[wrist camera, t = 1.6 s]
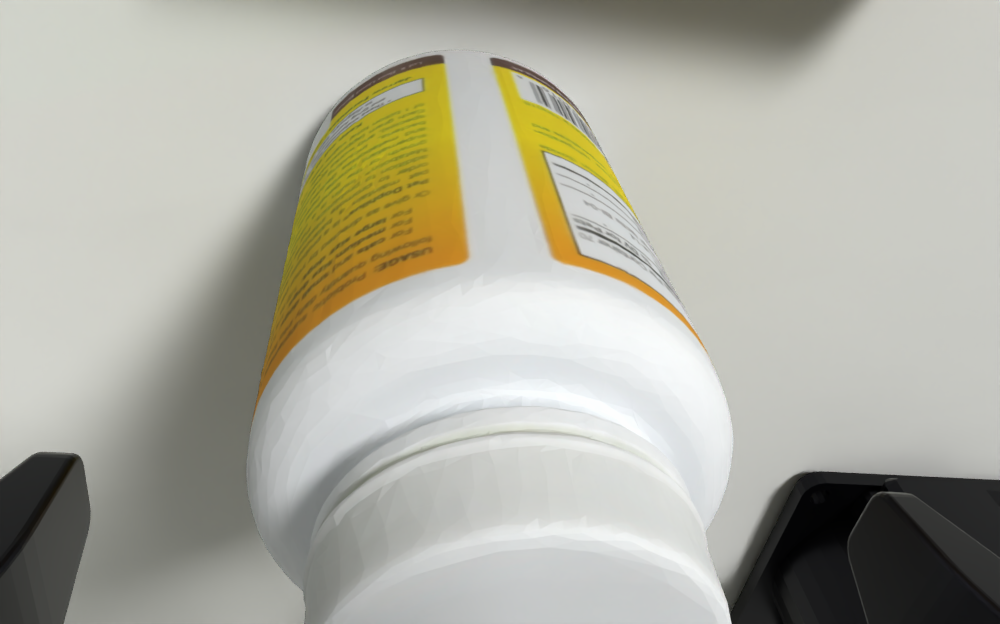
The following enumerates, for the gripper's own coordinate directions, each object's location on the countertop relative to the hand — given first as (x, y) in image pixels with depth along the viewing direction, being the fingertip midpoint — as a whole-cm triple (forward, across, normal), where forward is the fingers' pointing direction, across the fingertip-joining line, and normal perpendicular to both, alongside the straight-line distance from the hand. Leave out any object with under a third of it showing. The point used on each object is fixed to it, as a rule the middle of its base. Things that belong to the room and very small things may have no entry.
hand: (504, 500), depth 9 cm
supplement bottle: (+8, 0, 0) cm, 8 cm away
